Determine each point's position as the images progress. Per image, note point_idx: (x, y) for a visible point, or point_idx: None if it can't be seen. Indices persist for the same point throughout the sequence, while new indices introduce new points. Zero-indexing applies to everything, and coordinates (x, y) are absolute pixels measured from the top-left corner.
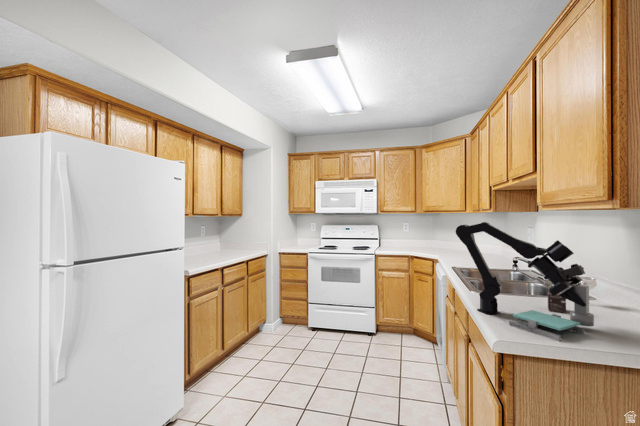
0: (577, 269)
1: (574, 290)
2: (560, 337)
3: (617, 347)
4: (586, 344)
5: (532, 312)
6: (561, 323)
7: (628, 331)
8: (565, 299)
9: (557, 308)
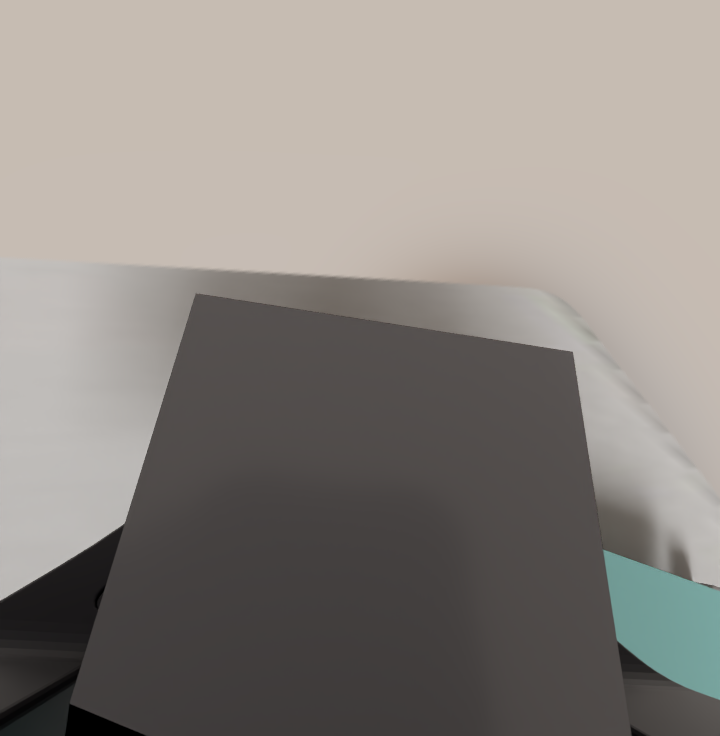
0: None
1: (638, 694)
2: (700, 583)
3: (518, 337)
4: (604, 453)
5: None
6: (634, 628)
7: (161, 289)
8: None
9: None
